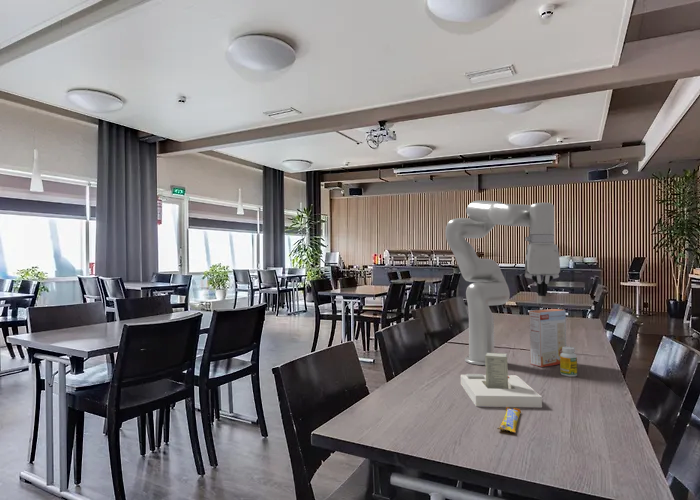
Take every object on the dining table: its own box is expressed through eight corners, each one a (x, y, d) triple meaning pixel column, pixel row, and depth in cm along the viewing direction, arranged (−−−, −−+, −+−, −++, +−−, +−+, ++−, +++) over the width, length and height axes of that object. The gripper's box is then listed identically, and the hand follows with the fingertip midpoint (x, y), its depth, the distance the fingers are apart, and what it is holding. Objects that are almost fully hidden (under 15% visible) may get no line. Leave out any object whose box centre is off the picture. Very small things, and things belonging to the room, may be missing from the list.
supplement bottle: (565, 372, 160) (565, 345, 160) (580, 375, 156) (580, 348, 156) (557, 374, 157) (556, 347, 157) (571, 377, 153) (571, 349, 153)
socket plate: (460, 383, 146) (460, 372, 146) (516, 384, 145) (516, 373, 145) (475, 406, 124) (475, 393, 124) (542, 407, 123) (541, 394, 123)
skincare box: (508, 393, 135) (508, 353, 135) (507, 398, 131) (507, 356, 131) (486, 391, 138) (486, 351, 138) (485, 395, 134) (484, 354, 134)
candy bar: (505, 412, 121) (505, 405, 121) (522, 414, 119) (522, 407, 119) (496, 434, 105) (496, 426, 106) (515, 437, 104) (515, 429, 104)
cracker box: (554, 360, 178) (553, 308, 178) (567, 363, 173) (566, 309, 173) (528, 364, 172) (528, 310, 172) (541, 367, 167) (541, 311, 167)
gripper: (522, 240, 144) (522, 296, 144) (569, 240, 143) (569, 297, 143) (515, 240, 152) (515, 294, 151) (560, 240, 150) (560, 294, 150)
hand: (541, 295), depth 147 cm, fingers closed
